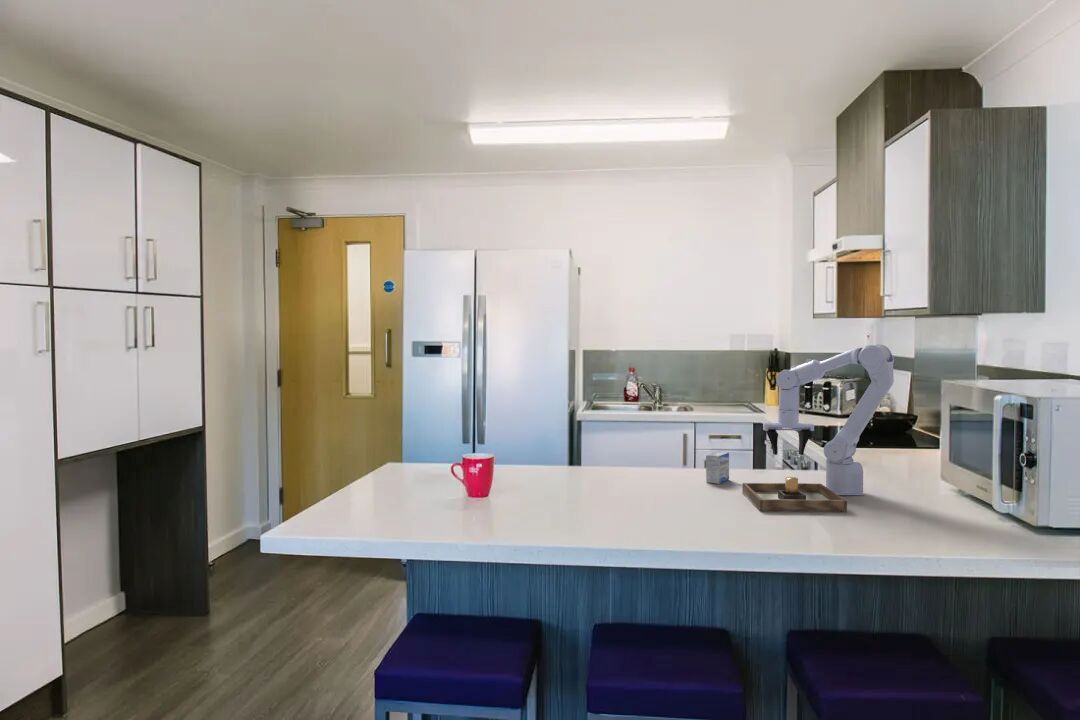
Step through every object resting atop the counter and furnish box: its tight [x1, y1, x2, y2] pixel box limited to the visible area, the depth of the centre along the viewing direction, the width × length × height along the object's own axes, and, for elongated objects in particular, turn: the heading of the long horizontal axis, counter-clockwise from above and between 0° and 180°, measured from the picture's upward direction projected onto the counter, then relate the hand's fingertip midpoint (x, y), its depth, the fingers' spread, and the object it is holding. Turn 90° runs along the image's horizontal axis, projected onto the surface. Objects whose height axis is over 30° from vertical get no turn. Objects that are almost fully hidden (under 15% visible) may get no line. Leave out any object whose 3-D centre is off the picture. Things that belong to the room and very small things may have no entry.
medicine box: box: [705, 451, 730, 485], centre depth 216 cm, size 8×4×9 cm, turn 143°
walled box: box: [741, 482, 848, 513], centre depth 189 cm, size 22×20×3 cm
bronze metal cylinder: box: [784, 476, 799, 495], centre depth 189 cm, size 3×3×6 cm
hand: (788, 454), depth 209 cm, fingers open, 7 cm apart
